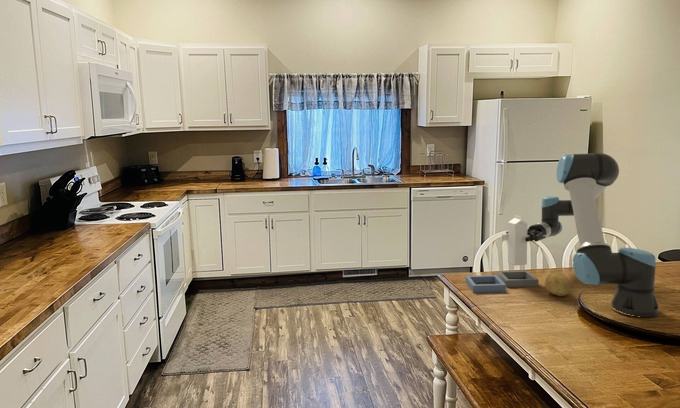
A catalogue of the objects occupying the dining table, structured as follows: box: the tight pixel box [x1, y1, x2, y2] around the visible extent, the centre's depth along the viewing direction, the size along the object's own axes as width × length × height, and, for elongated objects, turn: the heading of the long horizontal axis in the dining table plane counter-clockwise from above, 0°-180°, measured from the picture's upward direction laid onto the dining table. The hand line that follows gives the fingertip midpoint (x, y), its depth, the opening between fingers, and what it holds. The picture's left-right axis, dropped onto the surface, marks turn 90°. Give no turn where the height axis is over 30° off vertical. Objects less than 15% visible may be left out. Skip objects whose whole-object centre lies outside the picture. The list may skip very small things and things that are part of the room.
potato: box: [544, 270, 571, 297], centre depth 199 cm, size 10×14×10 cm
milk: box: [507, 214, 528, 266], centre depth 215 cm, size 6×6×22 cm
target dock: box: [465, 274, 507, 293], centre depth 212 cm, size 14×14×3 cm
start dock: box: [496, 270, 539, 288], centre depth 218 cm, size 14×14×3 cm
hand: (511, 239), depth 212 cm, fingers closed on milk, 8 cm apart
